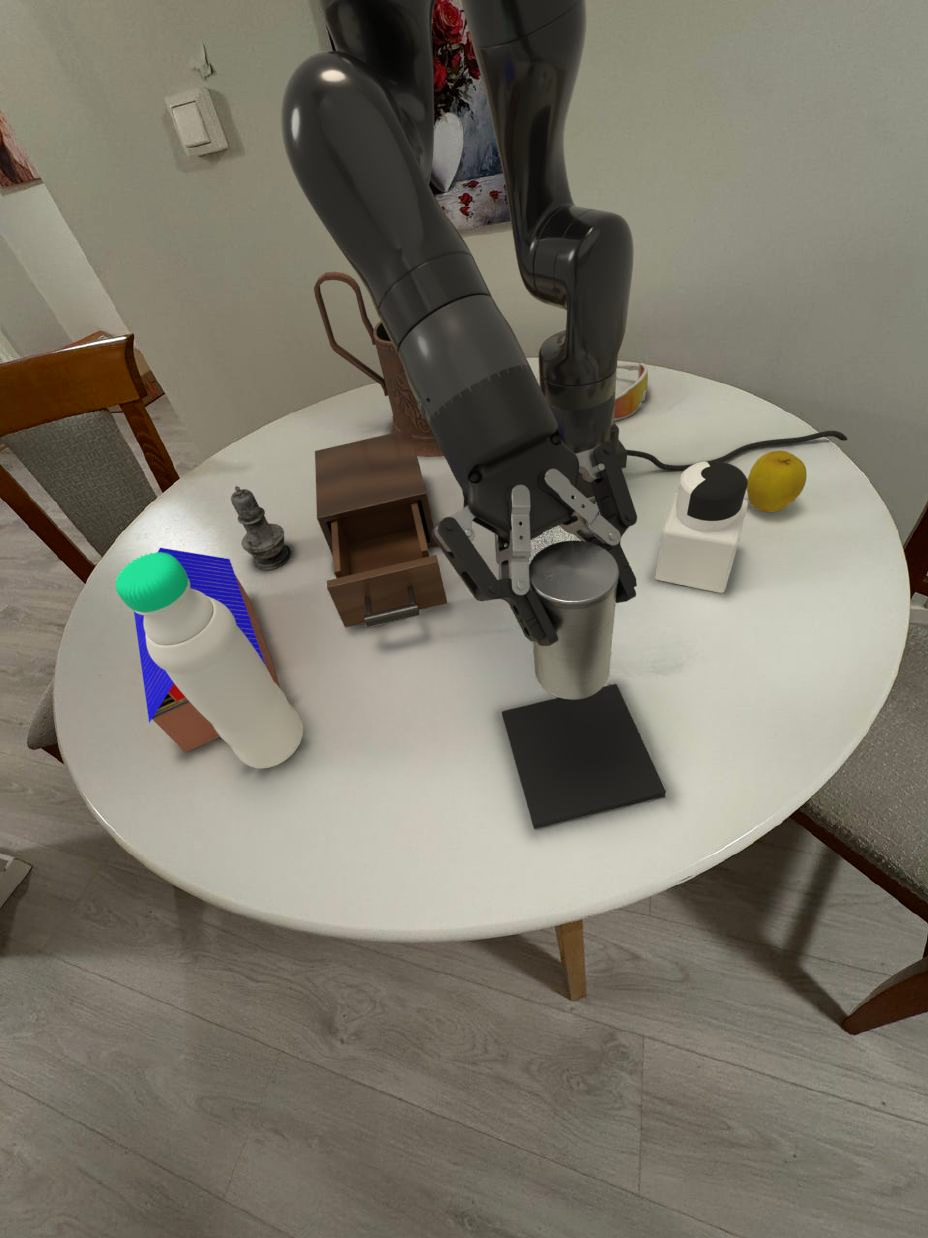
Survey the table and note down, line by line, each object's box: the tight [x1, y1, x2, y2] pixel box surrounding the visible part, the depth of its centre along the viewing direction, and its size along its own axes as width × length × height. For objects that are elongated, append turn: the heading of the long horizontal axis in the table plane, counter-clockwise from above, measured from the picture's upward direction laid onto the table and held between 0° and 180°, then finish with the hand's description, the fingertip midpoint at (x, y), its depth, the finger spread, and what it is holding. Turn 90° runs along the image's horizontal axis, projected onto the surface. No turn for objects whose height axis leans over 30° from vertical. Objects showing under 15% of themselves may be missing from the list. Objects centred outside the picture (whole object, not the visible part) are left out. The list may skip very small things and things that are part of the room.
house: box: [133, 547, 282, 753], centre depth 65 cm, size 12×20×12 cm, turn 27°
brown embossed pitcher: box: [313, 271, 444, 457], centre depth 90 cm, size 18×24×25 cm
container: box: [654, 460, 749, 594], centre depth 65 cm, size 8×8×13 cm
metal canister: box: [529, 539, 619, 700], centre depth 42 cm, size 6×6×11 cm
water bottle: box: [115, 551, 304, 769], centre depth 52 cm, size 7×7×25 cm
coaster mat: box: [501, 683, 667, 830], centre depth 55 cm, size 12×12×1 cm
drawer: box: [326, 501, 449, 628], centre depth 70 cm, size 19×13×7 cm
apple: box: [746, 449, 808, 513], centre depth 71 cm, size 6×6×8 cm
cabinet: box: [314, 429, 439, 557], centre depth 80 cm, size 16×14×9 cm
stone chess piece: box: [230, 485, 292, 571], centre depth 77 cm, size 6×6×12 cm
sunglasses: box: [614, 362, 649, 421], centre depth 96 cm, size 14×15×5 cm
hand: (588, 620), depth 40 cm, fingers closed on metal canister, 6 cm apart
